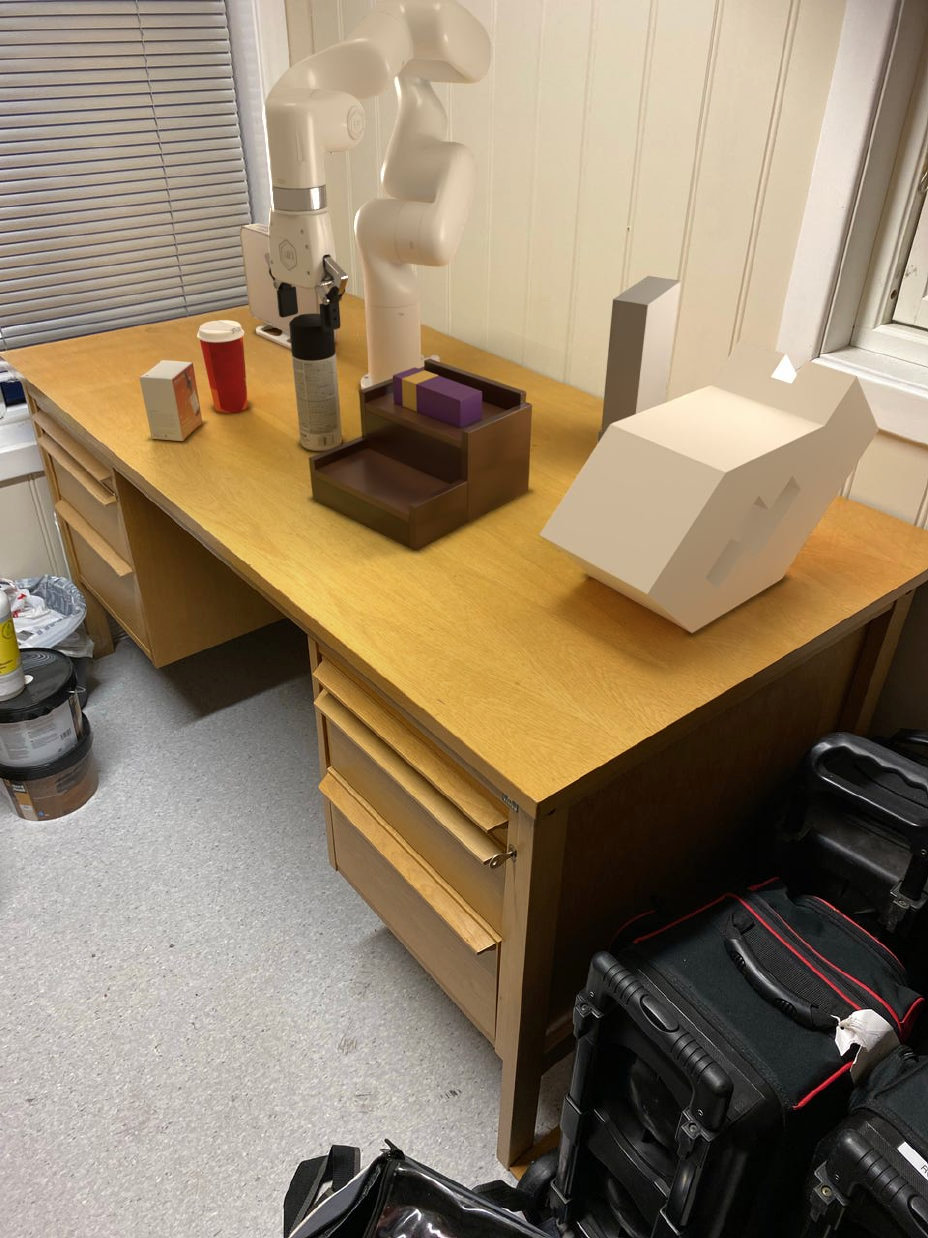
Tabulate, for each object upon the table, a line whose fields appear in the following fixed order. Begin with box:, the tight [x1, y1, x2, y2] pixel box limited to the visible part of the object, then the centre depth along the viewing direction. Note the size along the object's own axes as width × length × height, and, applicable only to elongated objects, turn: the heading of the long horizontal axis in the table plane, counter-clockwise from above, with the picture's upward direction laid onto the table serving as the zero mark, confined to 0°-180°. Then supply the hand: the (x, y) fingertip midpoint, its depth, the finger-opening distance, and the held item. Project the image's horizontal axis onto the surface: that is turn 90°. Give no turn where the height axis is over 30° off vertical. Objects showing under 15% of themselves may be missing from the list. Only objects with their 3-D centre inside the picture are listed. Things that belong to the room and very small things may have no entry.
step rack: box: [308, 359, 533, 551], centre depth 135 cm, size 23×21×15 cm
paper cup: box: [196, 319, 249, 414], centre depth 162 cm, size 8×8×14 cm
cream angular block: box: [539, 339, 880, 634], centre depth 116 cm, size 26×16×35 cm
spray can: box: [289, 313, 343, 452], centre depth 148 cm, size 7×7×20 cm
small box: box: [139, 359, 203, 442], centre depth 154 cm, size 8×6×10 cm
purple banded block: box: [393, 367, 482, 428], centre depth 133 cm, size 4×13×4 cm, turn 47°
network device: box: [239, 222, 338, 350], centre depth 189 cm, size 26×9×20 cm, turn 43°
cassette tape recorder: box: [596, 275, 682, 445], centre depth 145 cm, size 14×6×25 cm, turn 150°
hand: (309, 322), depth 142 cm, fingers open, 9 cm apart
